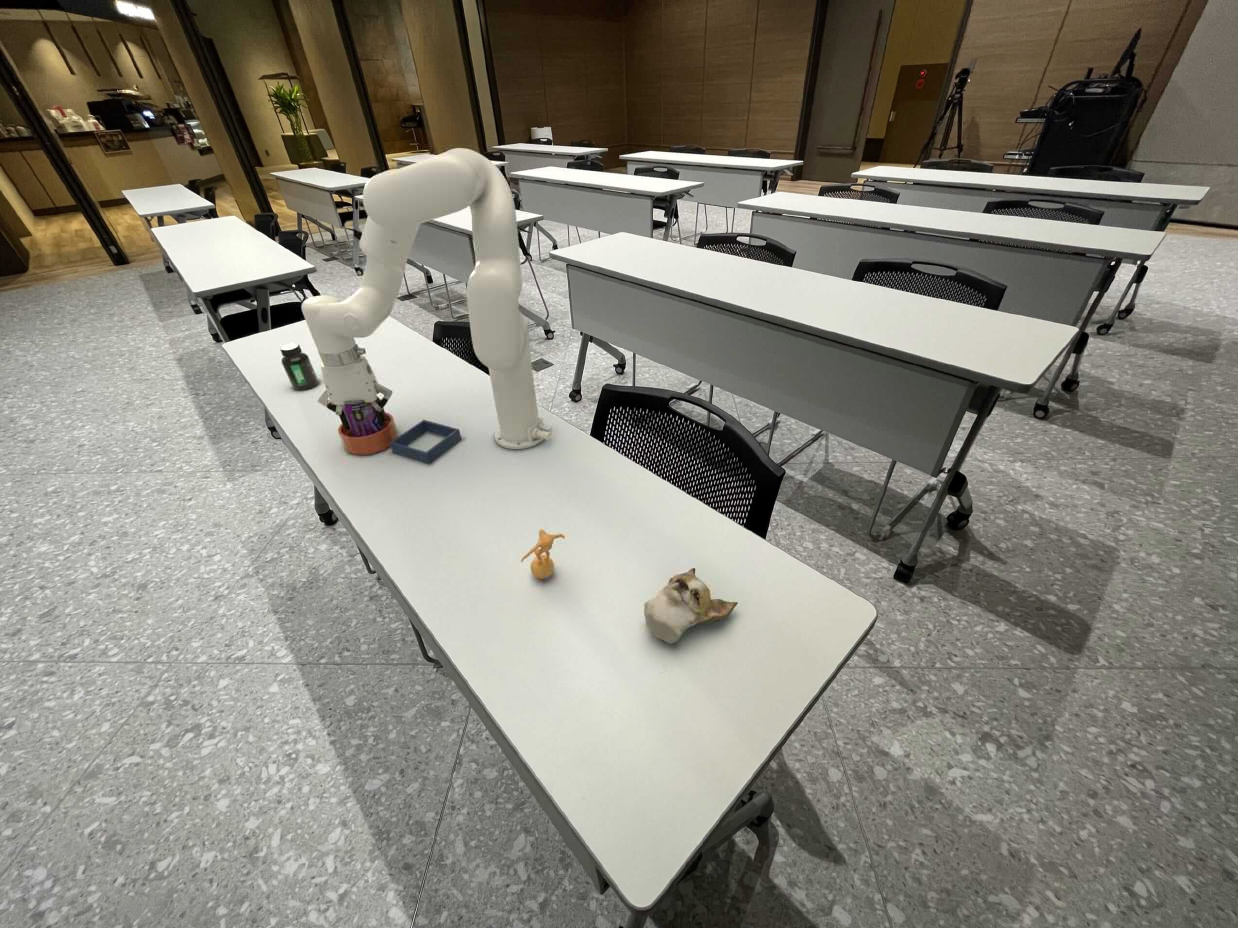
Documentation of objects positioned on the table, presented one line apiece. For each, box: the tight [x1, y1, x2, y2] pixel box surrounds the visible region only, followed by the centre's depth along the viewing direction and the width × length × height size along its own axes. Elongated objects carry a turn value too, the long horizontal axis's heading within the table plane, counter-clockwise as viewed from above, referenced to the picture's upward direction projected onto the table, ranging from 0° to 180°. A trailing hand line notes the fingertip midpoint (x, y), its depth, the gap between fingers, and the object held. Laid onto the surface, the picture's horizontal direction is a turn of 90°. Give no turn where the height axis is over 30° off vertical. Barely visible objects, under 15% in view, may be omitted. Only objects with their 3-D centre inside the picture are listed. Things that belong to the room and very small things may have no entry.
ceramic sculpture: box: [643, 567, 739, 644], centre depth 77 cm, size 11×9×15 cm
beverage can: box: [342, 400, 385, 437], centre depth 119 cm, size 7×7×12 cm
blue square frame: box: [390, 419, 462, 465], centre depth 119 cm, size 11×11×3 cm
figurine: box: [520, 528, 565, 580], centre depth 83 cm, size 8×6×12 cm
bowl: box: [337, 412, 400, 456], centre depth 121 cm, size 12×12×5 cm
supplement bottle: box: [279, 343, 319, 391], centre depth 144 cm, size 7×7×12 cm
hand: (366, 424), depth 120 cm, fingers closed on beverage can, 6 cm apart
